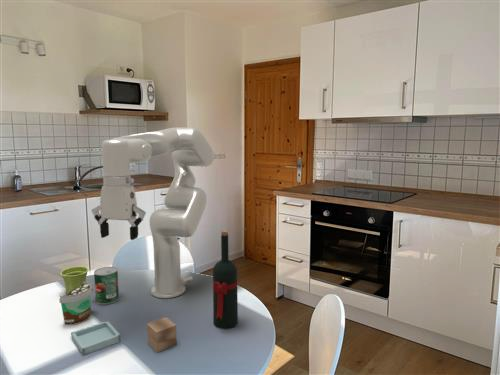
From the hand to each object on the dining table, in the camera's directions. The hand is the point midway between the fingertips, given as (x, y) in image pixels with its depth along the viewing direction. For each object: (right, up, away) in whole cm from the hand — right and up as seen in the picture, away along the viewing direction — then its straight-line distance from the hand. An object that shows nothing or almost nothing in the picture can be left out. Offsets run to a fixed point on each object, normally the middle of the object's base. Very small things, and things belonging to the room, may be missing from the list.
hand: (119, 237), depth 115 cm
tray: (-5, -29, -4) cm, 30 cm away
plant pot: (-25, -24, +27) cm, 44 cm away
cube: (+14, -30, -6) cm, 34 cm away
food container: (-15, -28, +9) cm, 33 cm away
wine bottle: (+32, -28, +5) cm, 43 cm away
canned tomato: (-12, -25, +22) cm, 35 cm away
